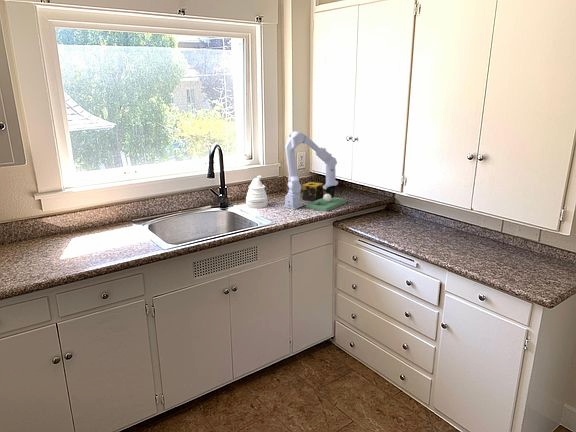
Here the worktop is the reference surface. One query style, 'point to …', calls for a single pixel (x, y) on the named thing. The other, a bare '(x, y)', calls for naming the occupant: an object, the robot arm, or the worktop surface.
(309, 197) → the yellow cube with hole
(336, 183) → the robot arm
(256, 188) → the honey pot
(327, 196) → the ball
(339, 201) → the green mat
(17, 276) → the worktop surface
